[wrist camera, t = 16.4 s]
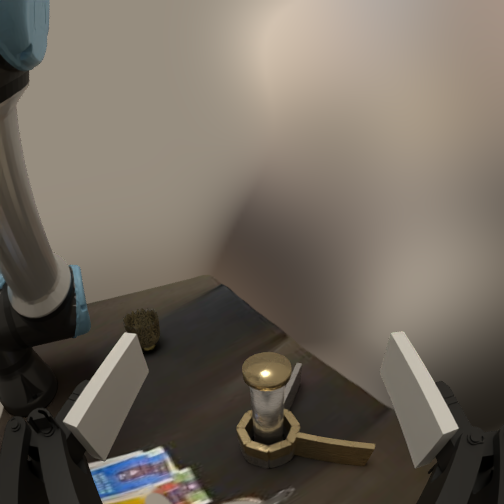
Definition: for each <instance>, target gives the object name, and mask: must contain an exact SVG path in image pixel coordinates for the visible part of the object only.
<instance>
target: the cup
mask: <svg viewBox="0 0 504 504" xmlns="http://www.w3.org/2000/svg"><path fill="white" fill-rule="evenodd" d="M123 321H124V323H123V324H124V326H125V329H126V331H127V333H133V334H137V337H138V340H139V343H140V346H141V349H142V351H143V352H146V353H149V352H152V351H154V350H155V349H156V343H157V341H158V340H159V336H160V329H159V321H158V316H157V312H155V311H154V309H152V310H151V312H150V310H149V309H147V311H145V310H144V309H141V311H140V310H139V309H137V311H136V314H135V313H134V311H132V313H131V315H130V314H126V316H125V318H124V317H123Z"/></svg>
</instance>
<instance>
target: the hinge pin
mask: <svg viewBox="0 0 504 504" xmlns="http://www.w3.org/2000/svg"><path fill="white" fill-rule="evenodd" d="M242 372H243V379H244V381H245V383H246V384H247V385H248V386H250V393H251V405H252V416H253V428H254V439H255V442H257V443H261V444H264V445H268V446H270V445H273V444H275V443H278V442H281V441H282V434H283V415H284V391H285V385H286V384H287V383H288V382H289V380H290V378H291V363H290V361H289V360H288V359H287V358H286V357H284V356H283V355H280V354H277V353H272V352H263V353H258V354H255V355H253V356H251V357H249V358H248V359H247V360H246V361H245V362H244V364H243V367H242Z"/></svg>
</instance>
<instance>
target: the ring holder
mask: <svg viewBox="0 0 504 504" xmlns="http://www.w3.org/2000/svg"><path fill="white" fill-rule="evenodd" d="M301 369H302V364H301V363H297V364H296V366H295V368H294V371H293V373H292V375H291V378H290V380H289V382H288V383H287V385H286V387H285V391H284V415H283V435H284V436H285V438H286V440H283V441H281V442H278V443H275V444H273V445H270V446H268V445H264V444H261V443H257V442H254V441H251V439H252V437H253V436H254V428H253V416H252V410H250V411H248V413H245V415H244V416H243V418H242V419H241V421H240V422H239V424H238V426H237V435H238V440H239V446H240V449H241V451H242V453H243V455H244V457H245V459H246V461H248V463H250V464H253V465H256V466H260V467H263V468H266V469H268V468H269V467H270V469H271V468H274V467H277V466H280V465H282V464H285V463H287V462H290V460H292V457H293V455H297V456H301V457H306V458H311V459H316V460H322V461H327V462H334V463H340V464H348V465H356V466H365V464H366V463H367V461H368V459H369V458H370V456H371V454H372V452H373V451H374V448H375V444H370V443H361V442H352V441H345V440H338V439H331V438H325V437H320V436H314V435H309V434H304V433H299V432H300V424H299V423H298V421H297V420H296V418H295V417H294V416H293V414H292V413H291V411H289V409H290V407H291V405H292V403H293V400H294V398H295V396H296V394H297V391H298V389H299V387H300V382H301Z"/></svg>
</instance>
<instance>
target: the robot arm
mask: <svg viewBox="0 0 504 504" xmlns="http://www.w3.org/2000/svg"><path fill="white" fill-rule="evenodd" d="M48 30H49V0H0V402H1V403H2V405H3V406H4V407H5V409H6V410H7V411H8V412H9V413H11V414H12V415H15V416H16V417H13V418H11V419H10V420H9V421H8V422H7V425H6V428H5V433H4V438H3V442H2V448H1V453H0V504H103V503H102V501H101V499H100V496H99V494H98V491H97V489H96V486H95V483H94V480H93V478H92V475H91V472H90V469H89V466H88V463H87V459H86V457H85V455H84V453H85V451H87V452H88V453H89V454H90V455H91V456H92V457H95V458H97V459H100V460H102V461H105V460H106V458H107V456H108V454H109V451H110V449H111V447H112V445H113V443H114V441H115V439H116V437H117V435H118V433H119V430H120V428H121V426H122V424H123V422H124V420H125V418H126V416H127V414H128V412H129V410H130V408H131V406H132V404H133V402H134V400H135V398H136V396H137V394H138V392H139V390H140V388H141V386H142V384H143V382H144V380H145V378H146V376H147V374H148V372H149V370H148V367H147V364H146V361H145V358H144V355H143V352H142V349H141V346H140V343H139V340H138V337H137V334H133V333H124V334H123V336H122V337H121V338H120V340H119V341H118V342H117V344H116V345H115V346H114V348H113V349H112V350H111V352H110V353H109V355H108V356H107V357H106V359H105V360H104V362H103V363H102V364H101V366H100V367H99V369H98V370H97V371H96V373H95V374H94V376H93V377H92V379H91V380H90V381H88V380H84V381H83V382H81V383H80V384H79V385H77V387H76V388H75V389H74V391H73V392H72V394H71V395H70V397H69V399H68V400H67V401H66V402H65V404H64V405H63V407H62V408H61V410H60V411H59V413H58V414H57V416H56V417H55V419H54V418H53V416H52V415H51V414H50V412H49V411H48V410H47V409H44V408H45V407H46V406H47V405H48V404H49V403H50V402H51V401H52V399H53V398H54V396H55V394H56V391H57V379H56V377H55V375H54V373H53V371H52V370H51V368H50V367H49V366H48V365H47V364H46V363H45V362H44V361H43V360H42V359H41V358H40V357H39V355H38V354H37V353H36V352H35V351H34V350H33V348H32V347H33V346H37V345H42V344H46V343H51V342H55V341H59V340H63V339H68V338H76V337H77V336H79V335H82V334H85V333H87V332H88V331H89V330H90V328H91V323H90V318H89V314H88V309H87V304H86V300H85V294H84V288H83V282H82V276H81V269H80V267H79V266H78V265H69V266H68V264H67V263H66V261H65V260H64V259H63V258H62V257H61V256H60V255H59V254H57V253H55V252H52V250H51V247H50V245H49V242H48V239H47V237H46V234H45V231H44V228H43V225H42V223H41V220H40V216H39V213H38V210H37V207H36V204H35V201H34V197H33V193H32V190H31V186H30V182H29V178H28V174H27V170H26V165H25V161H24V156H23V150H22V145H21V139H20V133H19V126H18V118H17V109H16V104H17V102H18V100H19V99H20V97H21V96H22V94H23V93H24V91H25V90H26V89H27V87H28V86H29V70H32V69H33V68H34V67H36V66H37V65H39V64H40V63H41V61H42V60H43V58H44V55H45V52H46V47H47V35H48ZM380 374H381V377H382V379H383V381H384V384H385V386H386V389H387V391H388V394H389V396H390V399H391V402H392V404H393V407H394V409H395V412H396V415H397V417H398V420H399V423H400V425H401V428H402V431H403V434H404V437H405V440H406V442H407V445H408V448H409V451H410V454H411V457H412V460H413V464H414V467H415V468H417V467H420V466H423V465H426V464H429V463H430V462H431V461H432V460H433V459H434V458H435V457H436V459H437V463H436V464H435V465H434V466H433V467H432V468H431V469H430V471H429V472H428V474H430V473H431V472H432V473H431V476H430V478H429V480H428V482H427V484H426V486H425V488H424V490H423V492H422V494H421V496H420V498H419V500H418V502H417V503H416V504H504V424H503V425H502V426H501V427H500V429H499V430H498V431H491V432H483V431H482V430H481V429H480V428H478V427H472V426H471V424H470V423H469V421H468V419H467V417H466V415H465V413H464V411H463V410H462V408H461V406H460V404H459V403H458V401H457V399H456V397H454V394H453V392H452V390H451V389H450V387H449V386H448V385H446V384H445V383H444V382H443V381H439V382H436V383H434V381H433V379H432V377H431V376H430V374H429V372H428V370H427V369H426V367H425V365H424V364H423V362H422V360H421V359H420V357H419V355H418V354H417V352H416V350H415V349H414V347H413V346H412V344H411V342H410V341H409V339H408V338H407V336H406V335H405V333H404V332H403V331H402V332H394V333H391V334H390V338H389V341H388V345H387V349H386V352H385V356H384V359H383V362H382V365H381V369H380ZM19 416H20V417H19ZM24 416H28V418H27V422H28V423H29V424H27V423H26V421H25V420H24V419H23V418H22V417H24ZM28 455H29V459H28ZM27 459H28V460H27Z"/></svg>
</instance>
